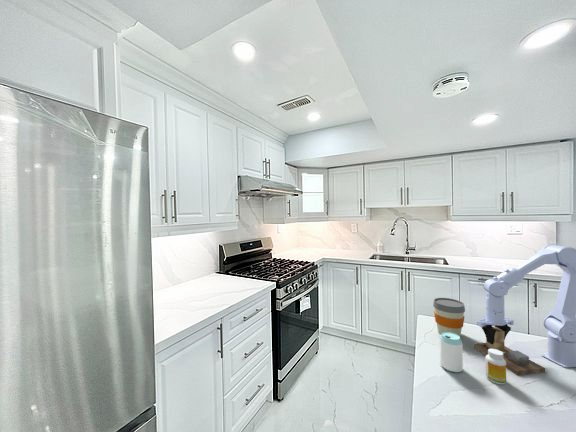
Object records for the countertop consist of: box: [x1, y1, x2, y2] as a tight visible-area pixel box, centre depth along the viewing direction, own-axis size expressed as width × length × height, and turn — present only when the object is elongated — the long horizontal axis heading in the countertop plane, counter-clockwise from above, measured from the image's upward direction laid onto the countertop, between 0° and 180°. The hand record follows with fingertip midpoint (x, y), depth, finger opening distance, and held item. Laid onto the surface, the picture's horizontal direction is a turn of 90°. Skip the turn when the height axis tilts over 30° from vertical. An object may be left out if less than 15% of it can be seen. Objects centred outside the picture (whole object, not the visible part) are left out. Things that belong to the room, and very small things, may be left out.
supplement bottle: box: [485, 348, 507, 385], centre depth 84 cm, size 5×5×10 cm
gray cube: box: [508, 350, 530, 366], centre depth 91 cm, size 4×4×4 cm
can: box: [439, 332, 464, 373], centre depth 91 cm, size 7×7×12 cm
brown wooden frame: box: [473, 342, 546, 376], centre depth 95 cm, size 11×18×2 cm, turn 6°
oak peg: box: [485, 326, 505, 352], centre depth 100 cm, size 4×4×8 cm
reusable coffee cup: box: [432, 297, 466, 337], centre depth 116 cm, size 12×13×15 cm
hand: (495, 342), depth 100 cm, fingers closed on oak peg, 4 cm apart
